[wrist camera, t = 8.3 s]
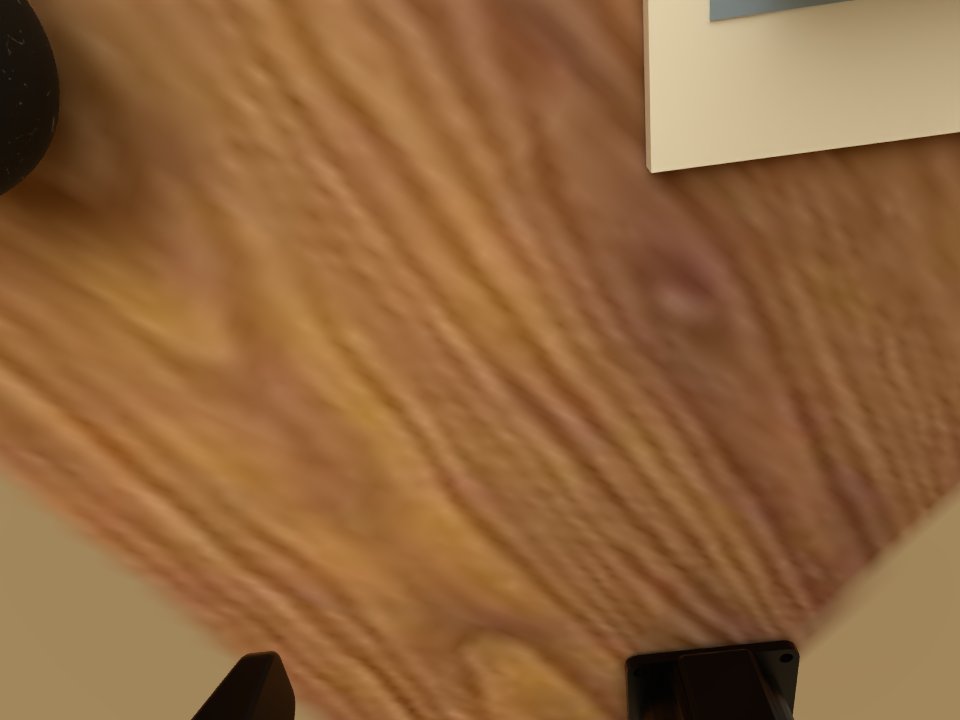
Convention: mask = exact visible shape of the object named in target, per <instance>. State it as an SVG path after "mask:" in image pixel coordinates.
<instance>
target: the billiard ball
mask: <svg viewBox="0 0 960 720" xmlns="http://www.w3.org/2000/svg"><path fill="white" fill-rule="evenodd" d="M58 112H59V81H58V74H57V69H56V64H55V60H54V56H53V53H52V50H51V47H50V44H49V41H48V38H47V36H46V34H45V32H44V30H43V27H42V25H41V23H40V21H39V20H38V18H37V16H36V14H35V12H34V11H33V9H32V8H31V6H30V4H29V3H28V1H27V0H0V195H1V194H3V193H5V192H7V191H8V190H10V189H11V188H12V187H14V186H15V185H17V184H18V183H19V182H21V181H22V180H23V179H24V178H25V177H26V176H27V175H28V174H29V173H30V172H31V171H32V170H33V169H34V168H35V167H36V165H37V164H38V163H39V161H40V160H41V159H42V157H43V156H44V154H45V152H46V151H47V149H48V147H49V145H50V143H51V140H52V137H53V135H54V132H55V128H56V124H57V120H58Z"/></svg>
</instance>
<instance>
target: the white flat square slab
mask: <svg viewBox="0 0 960 720" xmlns="http://www.w3.org/2000/svg"><path fill="white" fill-rule="evenodd" d="M643 32H644V81H645V129H646V167H647V168H648V170H649V171H650V172H651V173H655V172H663V171H670V170H678V169H685V168H693V167H700V166H708V165H716V164H723V163H731V162H738V161H746V160H753V159H761V158H768V157H776V156H783V155H791V154H798V153H806V152H813V151H821V150H828V149H836V148H843V147H851V146H858V145H866V144H873V143H881V142H888V141H896V140H904V139H911V138H919V137H926V136H934V135H941V134H949V133H956V132H960V0H643Z"/></svg>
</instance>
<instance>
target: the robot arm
mask: <svg viewBox="0 0 960 720" xmlns="http://www.w3.org/2000/svg"><path fill="white" fill-rule="evenodd" d="M799 658H800V656H799V653H798V650H797V648H796V646H795V644H794V643H793V642H790V641H774V642H764V643H754V644H744V645H735V646H725V647H715V648H705V649H695V650H685V651H676V652H666V653H656V654H646V655H637V656H633V657H631V658H629V659H628V660H627V661H626V664H625V673H626V692H627V712H628V720H794V718H793V708H794V699H795V690H796V683H797V674H798V666H799ZM294 717H295V696H294V692H293V689H292V686H291V683H290V681H289V678H288V676H287V673H286V671H285V668H284V665H283V663H282V660H281V658H280V656H279V655H278V654H277V653H276V652H274V651H268V652H258V653H250V654H247V655H245V656H243V657H242V658H241V659H240V660H239V661H238V662H237V663H236V665H235V666H234V667H233V668H232V670H231V671H230V672H229V673H228V675H227V676H226V677H225V678H224V680H223V681H222V682H221V683H220V685H219V686H218V687H217V688H216V690H215V691H214V692H213V693H212V694H211V696H210V697H209V698H208V700H207V701H206V702H205V703H204V704H203V706H202V707H201V708H200V709H199V710H198V712H197V713H196V714H195V715H194V717H193V718H192V719H191V720H294Z"/></svg>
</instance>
